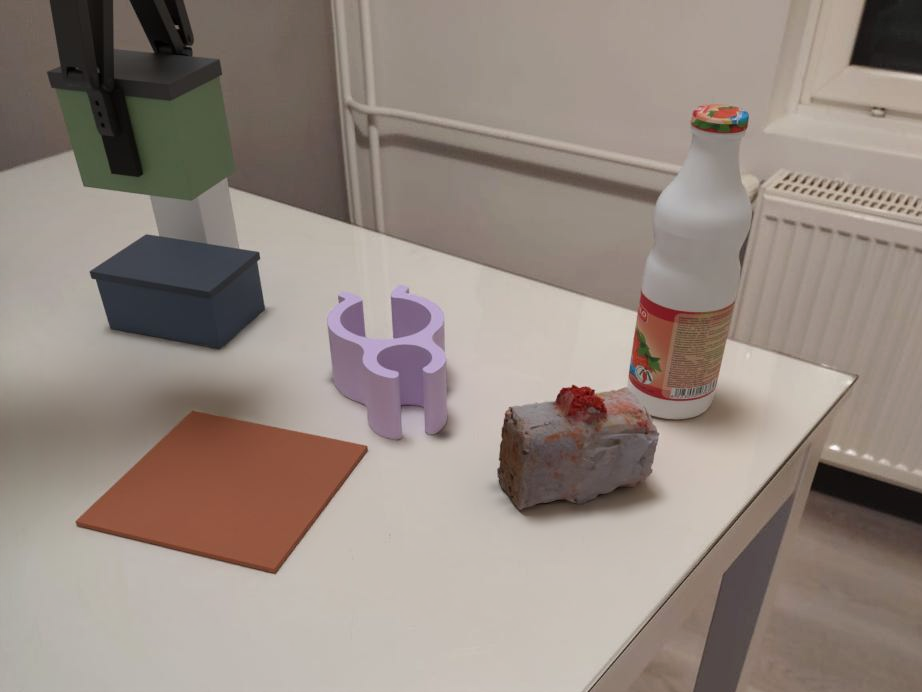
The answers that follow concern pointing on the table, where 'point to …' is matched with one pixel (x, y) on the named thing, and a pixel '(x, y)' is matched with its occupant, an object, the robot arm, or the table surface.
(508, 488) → the food item
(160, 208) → the milk carton
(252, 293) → the lower tub
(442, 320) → the clip
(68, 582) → the table surface
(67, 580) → the table surface
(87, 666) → the table surface
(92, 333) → the table surface
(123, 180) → the box
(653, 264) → the fruit juice
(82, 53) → the robot arm
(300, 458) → the mat
